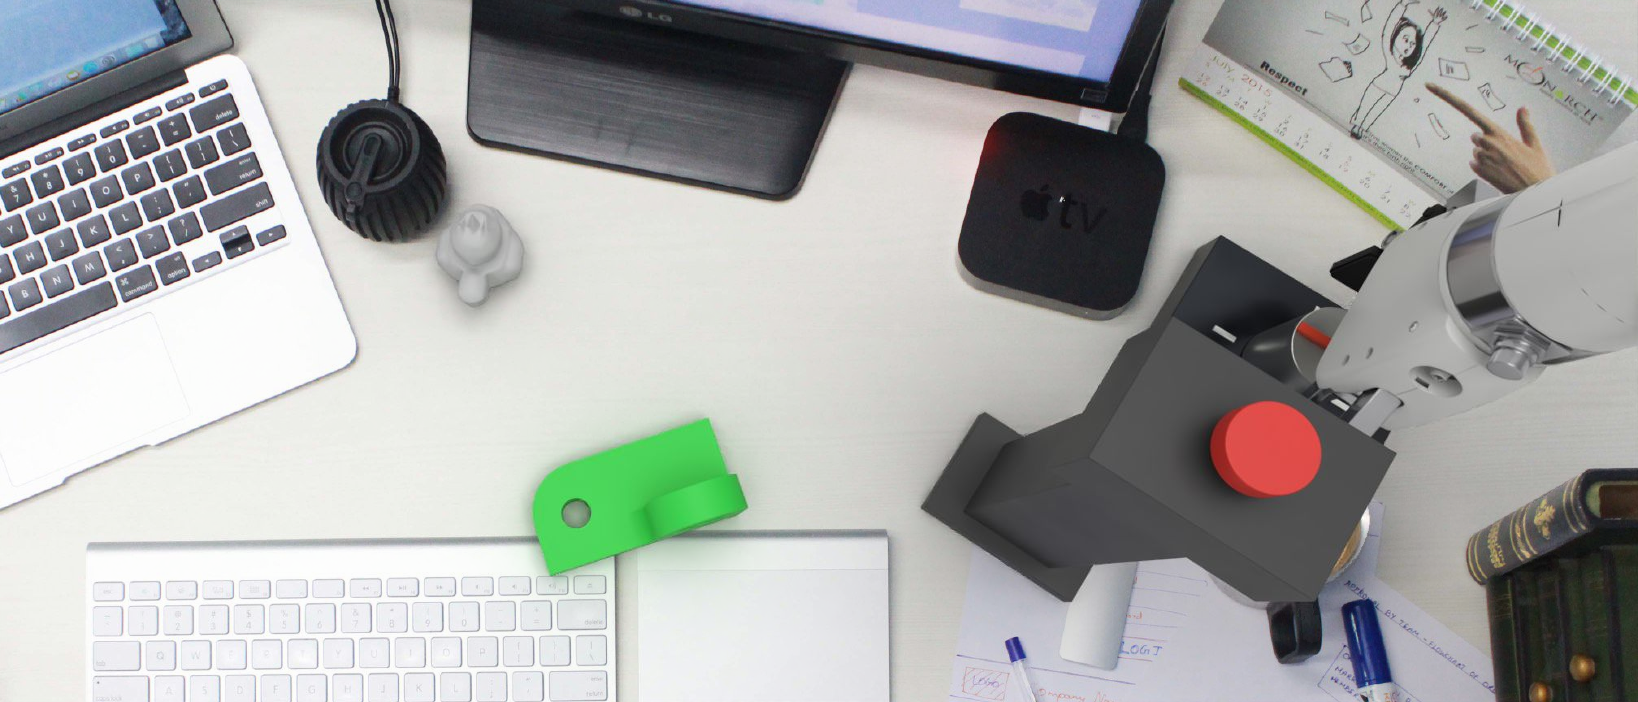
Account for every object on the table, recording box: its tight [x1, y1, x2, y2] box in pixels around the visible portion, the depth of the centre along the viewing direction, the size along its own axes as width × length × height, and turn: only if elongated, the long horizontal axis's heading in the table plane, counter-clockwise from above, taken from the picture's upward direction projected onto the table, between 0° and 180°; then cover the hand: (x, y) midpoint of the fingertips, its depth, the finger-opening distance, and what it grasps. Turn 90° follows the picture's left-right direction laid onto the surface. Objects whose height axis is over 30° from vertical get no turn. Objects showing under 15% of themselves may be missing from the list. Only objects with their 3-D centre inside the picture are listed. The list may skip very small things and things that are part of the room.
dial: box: [1241, 307, 1348, 404], centre depth 68 cm, size 5×5×6 cm
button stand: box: [920, 316, 1398, 603], centre depth 60 cm, size 10×7×26 cm
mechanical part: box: [531, 417, 749, 577], centre depth 69 cm, size 12×6×8 cm, turn 108°
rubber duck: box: [435, 203, 525, 309], centre depth 73 cm, size 5×7×8 cm
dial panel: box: [1149, 234, 1392, 445], centre depth 73 cm, size 14×11×3 cm
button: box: [1211, 401, 1321, 498], centre depth 46 cm, size 4×4×1 cm
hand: (1313, 352), depth 68 cm, fingers open, 9 cm apart
